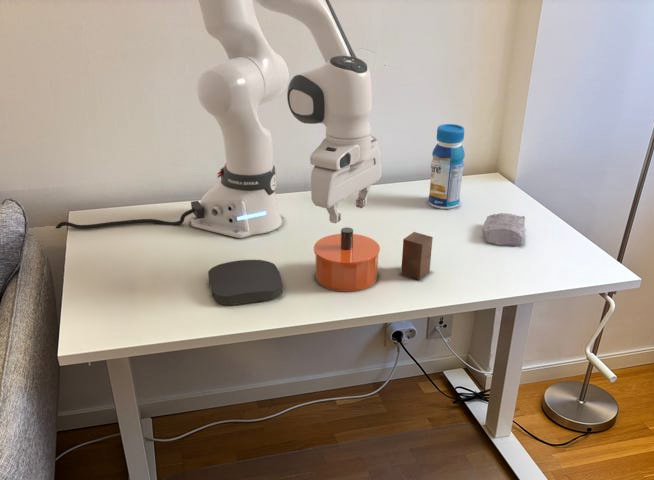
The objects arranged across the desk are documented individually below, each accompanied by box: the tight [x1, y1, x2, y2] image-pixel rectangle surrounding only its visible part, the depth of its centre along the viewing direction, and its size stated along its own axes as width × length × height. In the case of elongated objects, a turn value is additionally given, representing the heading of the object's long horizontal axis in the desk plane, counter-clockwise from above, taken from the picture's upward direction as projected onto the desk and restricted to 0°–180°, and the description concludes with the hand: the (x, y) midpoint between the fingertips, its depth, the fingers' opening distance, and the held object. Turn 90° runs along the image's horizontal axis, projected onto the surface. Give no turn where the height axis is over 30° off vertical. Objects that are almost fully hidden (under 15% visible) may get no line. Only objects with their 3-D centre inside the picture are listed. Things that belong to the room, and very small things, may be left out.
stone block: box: [482, 212, 526, 247], centre depth 173 cm, size 12×5×10 cm
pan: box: [314, 253, 379, 293], centre depth 154 cm, size 13×13×6 cm
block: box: [400, 231, 434, 281], centre depth 155 cm, size 5×5×8 cm
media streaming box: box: [207, 259, 284, 306], centre depth 151 cm, size 15×15×3 cm
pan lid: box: [313, 226, 381, 265], centre depth 151 cm, size 14×14×5 cm
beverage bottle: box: [427, 123, 466, 210], centre depth 184 cm, size 8×8×20 cm
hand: (348, 214), depth 148 cm, fingers open, 8 cm apart
